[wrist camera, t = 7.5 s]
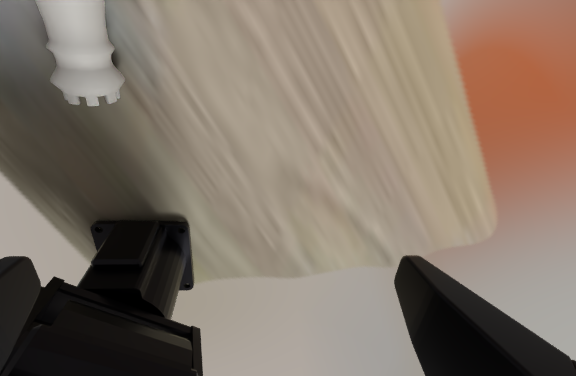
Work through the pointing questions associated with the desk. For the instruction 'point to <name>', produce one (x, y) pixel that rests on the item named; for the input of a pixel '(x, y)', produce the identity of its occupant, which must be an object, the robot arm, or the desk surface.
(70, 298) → the robot arm
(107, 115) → the desk surface
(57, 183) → the desk surface
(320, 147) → the desk surface
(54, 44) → the rook chess piece
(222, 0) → the desk surface
